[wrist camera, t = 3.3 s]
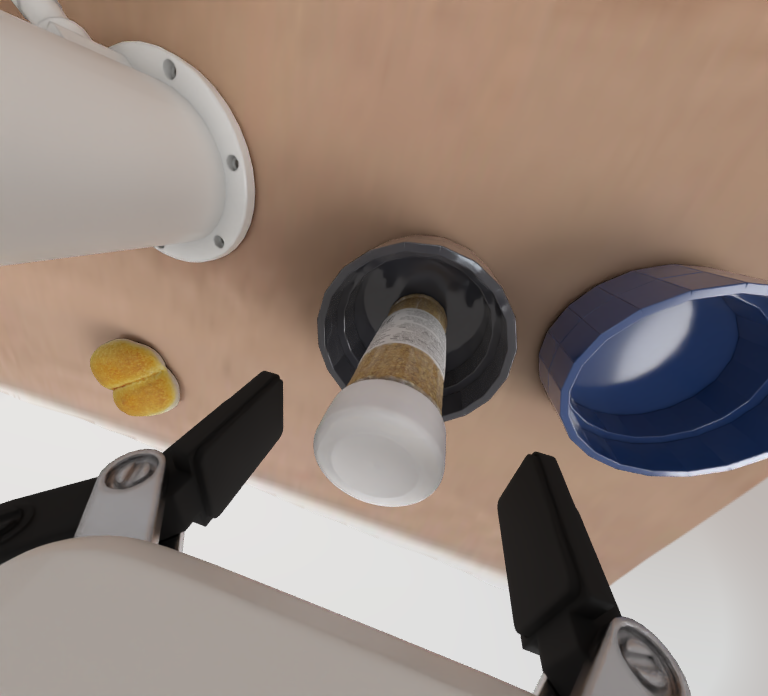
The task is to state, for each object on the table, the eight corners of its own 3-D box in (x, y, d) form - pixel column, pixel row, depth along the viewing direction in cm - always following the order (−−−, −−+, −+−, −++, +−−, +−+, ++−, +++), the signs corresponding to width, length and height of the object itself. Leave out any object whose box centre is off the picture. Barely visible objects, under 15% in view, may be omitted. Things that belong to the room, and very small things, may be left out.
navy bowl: (512, 318, 19) (529, 349, 15) (740, 221, 15) (864, 226, 10) (566, 437, 23) (593, 491, 18) (765, 392, 18) (866, 450, 14)
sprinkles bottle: (413, 357, 22) (370, 525, 10) (376, 315, 21) (283, 448, 9) (461, 326, 20) (475, 490, 8) (422, 277, 19) (376, 387, 7)
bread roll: (145, 327, 28) (101, 344, 24) (196, 398, 31) (164, 422, 27) (98, 344, 30) (53, 362, 27) (150, 408, 34) (115, 430, 30)
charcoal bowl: (315, 287, 22) (281, 307, 17) (457, 195, 17) (459, 191, 12) (392, 401, 25) (379, 441, 21) (527, 351, 20) (548, 391, 16)
